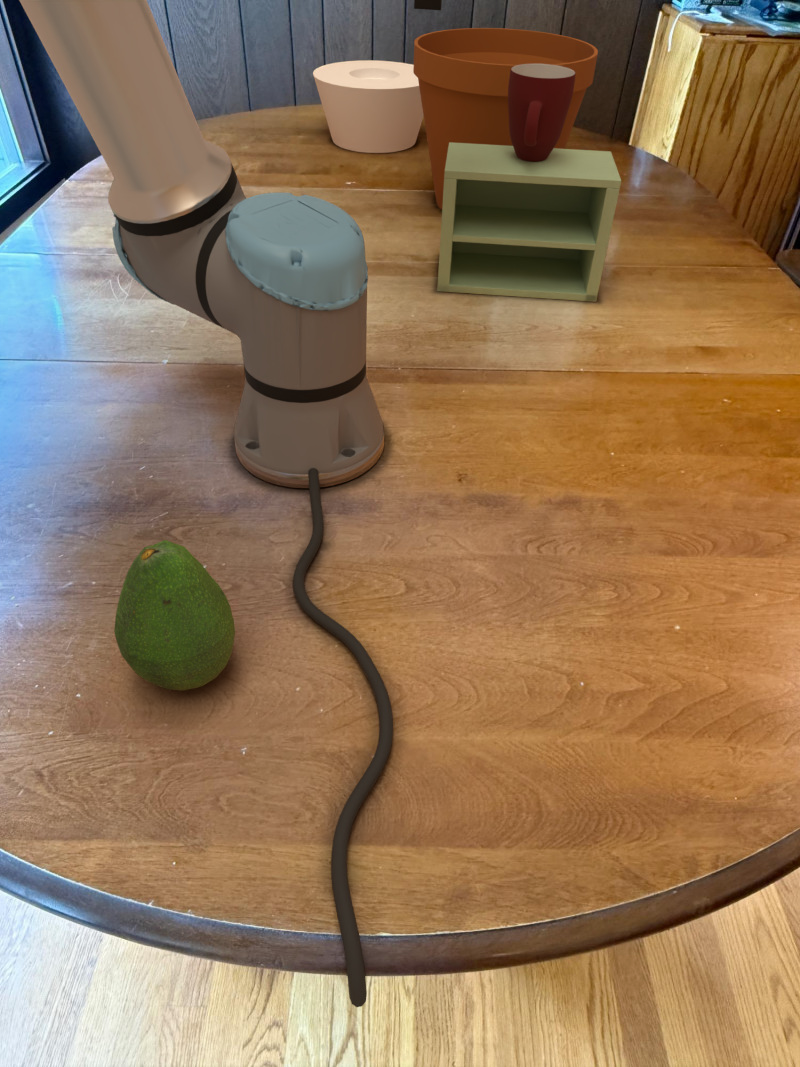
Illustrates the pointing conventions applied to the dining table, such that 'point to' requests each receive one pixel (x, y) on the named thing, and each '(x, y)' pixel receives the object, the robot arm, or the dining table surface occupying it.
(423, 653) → the dining table surface
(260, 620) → the dining table surface
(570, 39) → the flowerpot
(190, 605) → the fruit
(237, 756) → the dining table surface
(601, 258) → the shelf unit
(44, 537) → the dining table surface
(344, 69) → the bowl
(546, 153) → the mug
